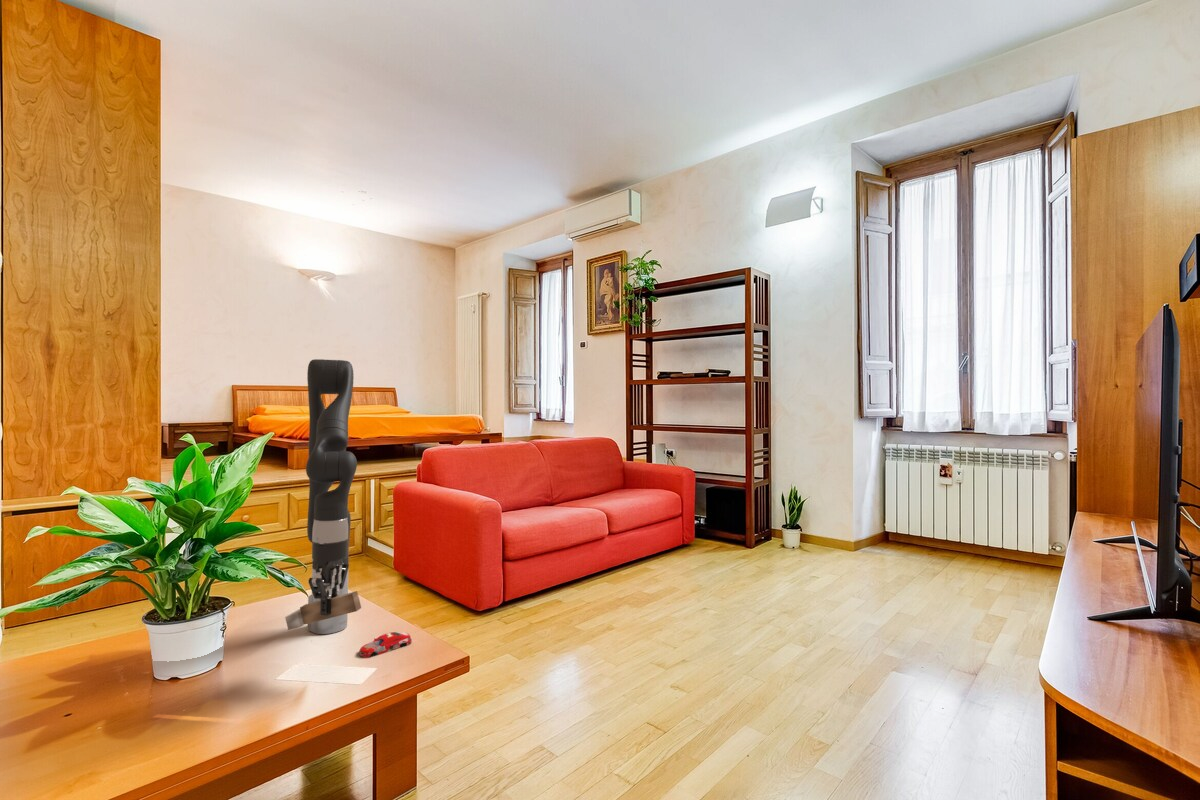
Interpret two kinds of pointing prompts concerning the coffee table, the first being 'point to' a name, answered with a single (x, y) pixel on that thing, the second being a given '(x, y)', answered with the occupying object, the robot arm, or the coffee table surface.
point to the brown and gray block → (312, 610)
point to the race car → (385, 644)
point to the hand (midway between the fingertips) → (328, 612)
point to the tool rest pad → (327, 674)
